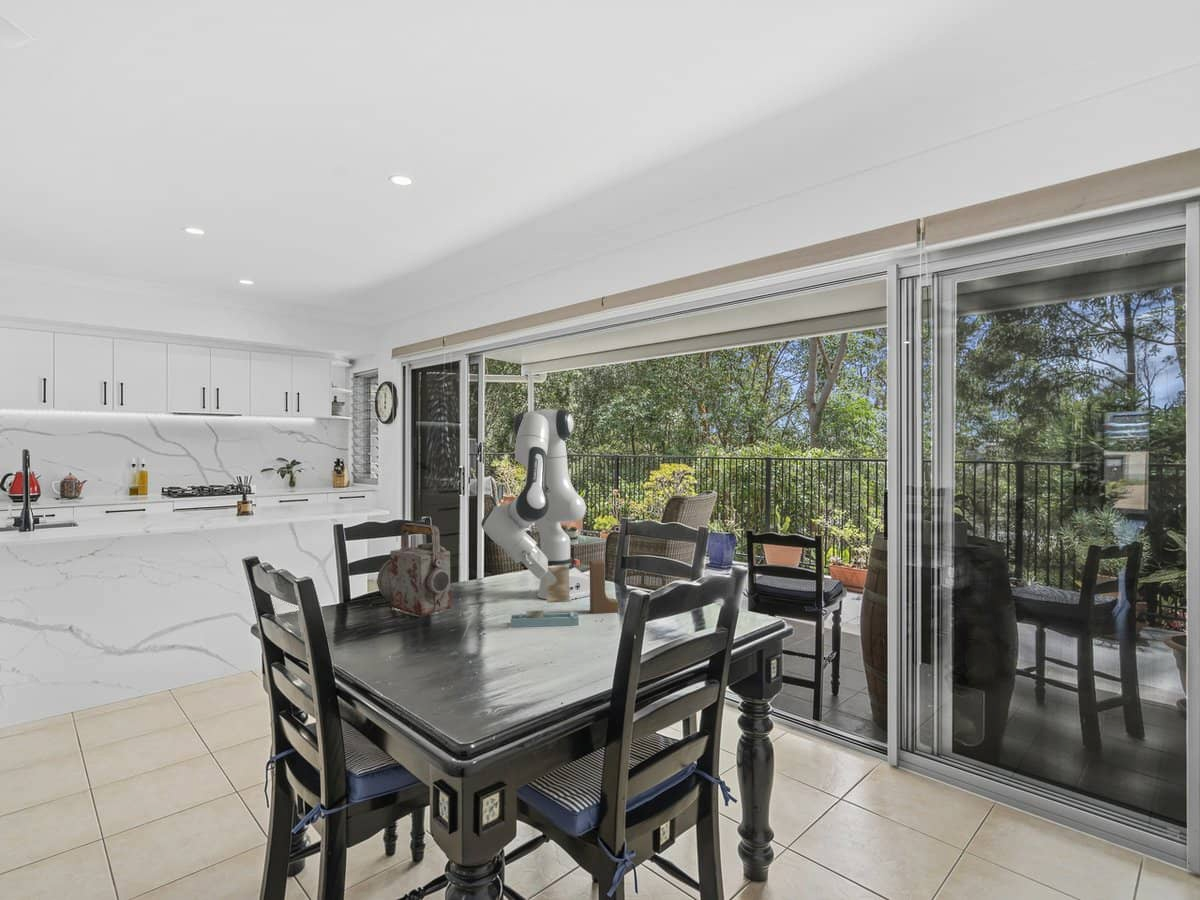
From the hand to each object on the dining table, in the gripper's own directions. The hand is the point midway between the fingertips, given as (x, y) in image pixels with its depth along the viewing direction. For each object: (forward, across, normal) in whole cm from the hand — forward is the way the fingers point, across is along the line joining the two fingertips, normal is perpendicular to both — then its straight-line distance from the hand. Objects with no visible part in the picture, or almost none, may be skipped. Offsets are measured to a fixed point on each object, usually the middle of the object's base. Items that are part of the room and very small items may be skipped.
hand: (555, 579), depth 200 cm
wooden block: (+22, +13, -1) cm, 26 cm away
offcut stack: (+5, 0, +15) cm, 15 cm away
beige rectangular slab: (+6, 0, +4) cm, 7 cm away
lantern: (-24, +26, +45) cm, 57 cm away
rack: (+8, 0, +13) cm, 15 cm away
